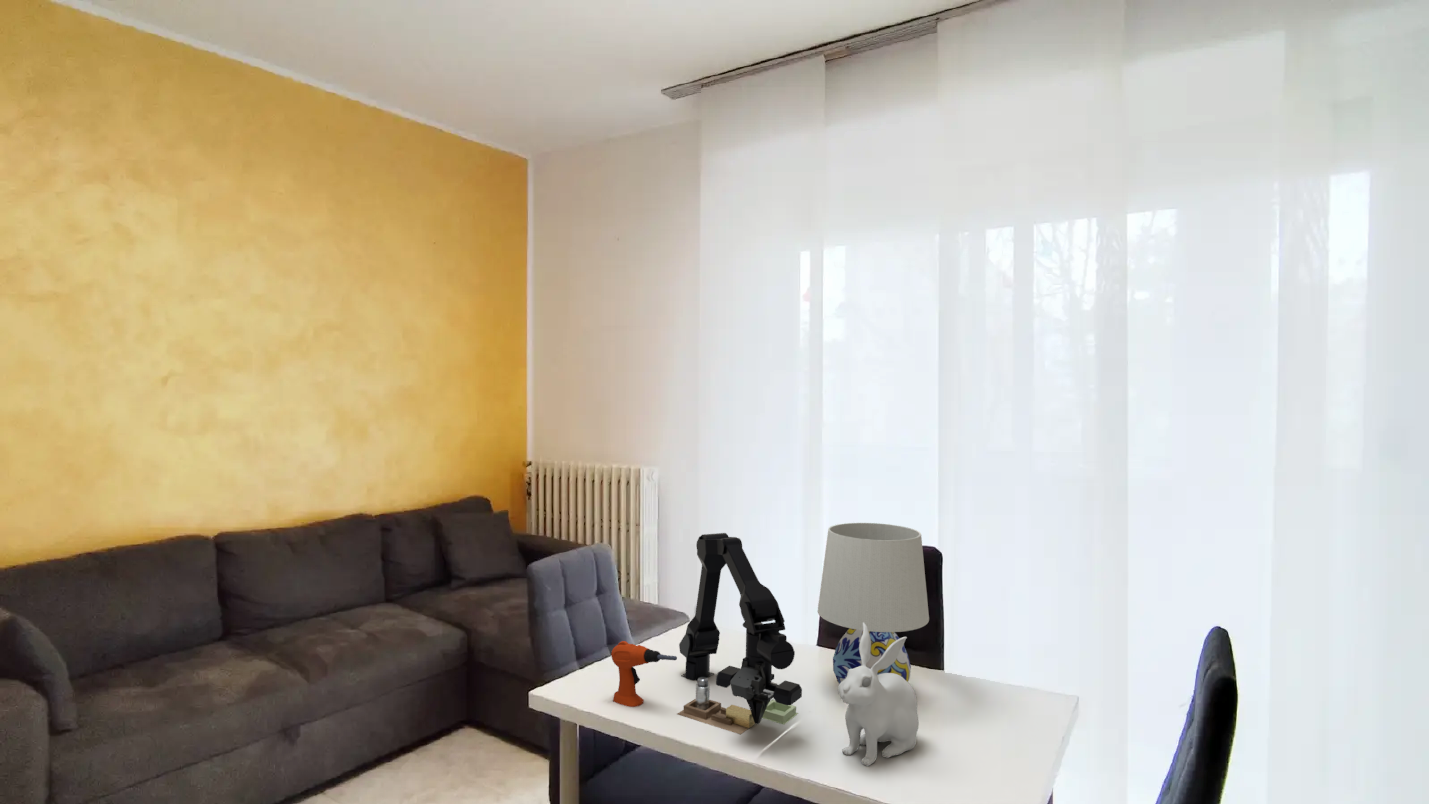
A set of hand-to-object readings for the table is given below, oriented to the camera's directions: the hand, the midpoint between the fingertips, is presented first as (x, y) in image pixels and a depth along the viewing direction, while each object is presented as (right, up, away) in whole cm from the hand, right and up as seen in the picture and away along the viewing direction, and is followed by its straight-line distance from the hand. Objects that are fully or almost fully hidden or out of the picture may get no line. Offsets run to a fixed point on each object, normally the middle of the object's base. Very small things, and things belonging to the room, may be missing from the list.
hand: (757, 723), depth 160 cm
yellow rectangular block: (-4, -1, +2) cm, 4 cm away
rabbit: (+24, -2, -8) cm, 26 cm away
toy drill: (-26, -1, +11) cm, 28 cm away
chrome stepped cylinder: (-12, -1, +8) cm, 15 cm away
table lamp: (+30, -2, +22) cm, 37 cm away
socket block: (-8, -1, +5) cm, 10 cm away
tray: (+5, -2, +7) cm, 9 cm away
